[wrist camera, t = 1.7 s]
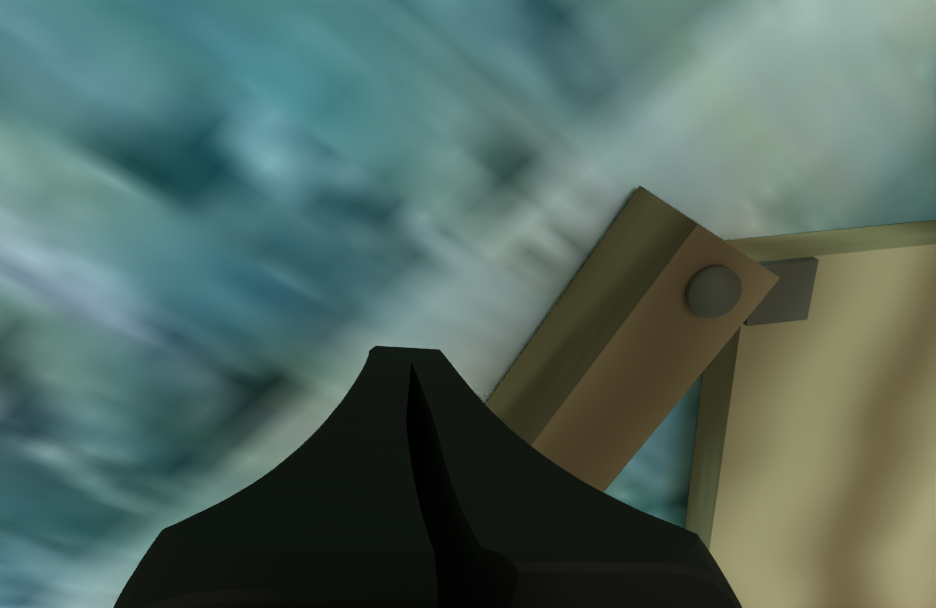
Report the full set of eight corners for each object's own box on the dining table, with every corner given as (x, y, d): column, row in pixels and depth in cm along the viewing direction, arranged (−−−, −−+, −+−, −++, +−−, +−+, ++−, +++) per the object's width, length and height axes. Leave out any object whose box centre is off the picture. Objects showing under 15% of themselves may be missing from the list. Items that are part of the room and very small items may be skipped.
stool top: (1076, 206, 22) (1213, 244, 18) (929, 614, 30) (1002, 694, 27) (717, 241, 21) (788, 288, 17) (670, 654, 29) (710, 744, 26)
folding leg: (710, 231, 20) (786, 282, 17) (538, 456, 23) (569, 544, 19) (640, 185, 19) (703, 227, 16) (470, 425, 22) (488, 511, 19)
